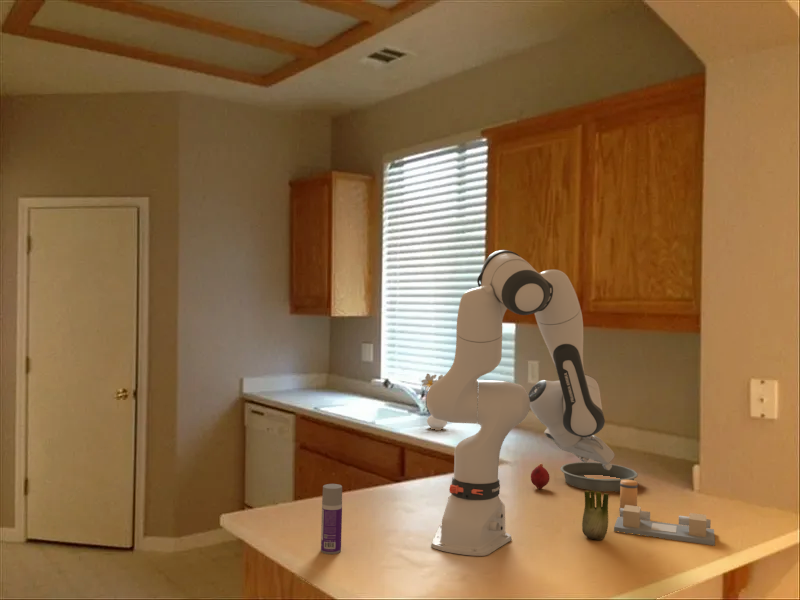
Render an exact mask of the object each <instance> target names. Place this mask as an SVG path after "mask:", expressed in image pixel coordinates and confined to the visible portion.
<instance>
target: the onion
mask: <svg viewBox="0 0 800 600" xmlns="http://www.w3.org/2000/svg"><path fill="white" fill-rule="evenodd" d="M537 465H538V466H536V467H534V469H533V470H532V471H531V473H530V481H531V483H532V485H533V486H534V487H536V488H537V489H538V490H541V489H543V488H545V486H547V485H548V484H549V482H550V480H551V479H550V477H551V476H550V474H549V471H548V470H547V469H546V468H545V467H544V466H543V463H539V464H537Z"/></svg>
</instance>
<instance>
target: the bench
mask: <svg viewBox="0 0 800 600" xmlns="http://www.w3.org/2000/svg"><path fill="white" fill-rule="evenodd" d="M619 508H620V507H619ZM711 521H712V520H711V519H708V518H707V514H702V513H695V512H689V515H688V516H685V515H678V524H676V523H670V522H662V521H661V522H660V521H652V520H651V511H645V510H642V507H641V506H638V505H637V506H631V505H625V507H624V509H623V508H620V511H619V516H617V518H616V521H615V524H614V526H613V532H614V531H619V532H618V533H620V532H625V533H624V534H628V533H633V534H632V535H635V534H640V535H639V536H642V535H646V536H645V537H649V536H653V537H652V538H656V537H659V538H658V539H664V538H665V540H671V539H672V540H673V541H677V542H678V541H680V542H685V543H686V542H687V543H695V544H701V545H708V546H715V545H716V540H715V539H716V538H715V529H714V528H711Z"/></svg>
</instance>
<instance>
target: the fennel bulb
mask: <svg viewBox="0 0 800 600" xmlns="http://www.w3.org/2000/svg"><path fill="white" fill-rule="evenodd" d="M609 495H610V494H609V493H607V492H606V493H605V492H604V493H603V496H602V491H594V490H584V509H583V510H584V511H583V515H582V523H581V527H582V528H581V529H582V533H583V535H584V536H585V537H586V538H588V539H592V540H595V541H600V540H603V539H605V537H606V535H607V533H608V530H609V528H608V527H609Z"/></svg>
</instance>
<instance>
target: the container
mask: <svg viewBox="0 0 800 600" xmlns="http://www.w3.org/2000/svg"><path fill="white" fill-rule="evenodd" d="M321 498H322V500H321V529H320V533H321V535H320V552H321V553H322V554H325V555H337V554H339V553H341V552H342V528H343V527H342V525H343V524H342V523H343V486H342V485H341V484H337V483H327V484H324V485H323V486H322V497H321Z"/></svg>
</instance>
